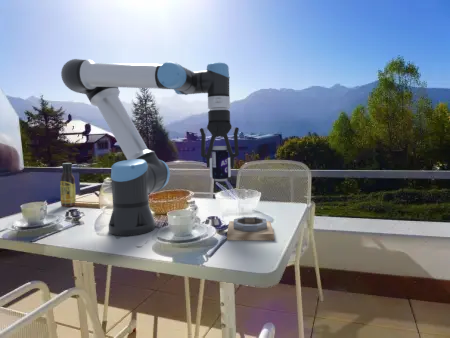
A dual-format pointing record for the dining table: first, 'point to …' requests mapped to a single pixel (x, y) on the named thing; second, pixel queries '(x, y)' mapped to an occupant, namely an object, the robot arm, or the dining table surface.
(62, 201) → the sauce bottle
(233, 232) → the oak board
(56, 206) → the dining table surface
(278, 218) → the dining table surface
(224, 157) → the beverage can
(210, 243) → the dining table surface
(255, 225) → the collar
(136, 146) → the robot arm
